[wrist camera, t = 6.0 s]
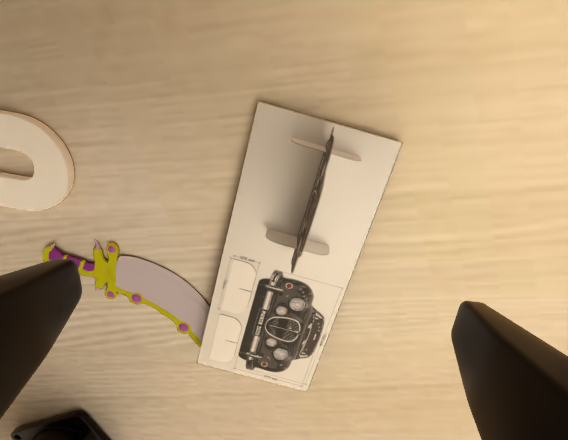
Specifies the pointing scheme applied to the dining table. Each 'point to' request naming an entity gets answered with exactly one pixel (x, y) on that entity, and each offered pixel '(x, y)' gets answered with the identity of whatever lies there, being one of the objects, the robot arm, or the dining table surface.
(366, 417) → the dining table surface
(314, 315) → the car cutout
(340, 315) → the dining table surface
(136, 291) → the decorative knife
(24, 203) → the chain link
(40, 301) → the robot arm
